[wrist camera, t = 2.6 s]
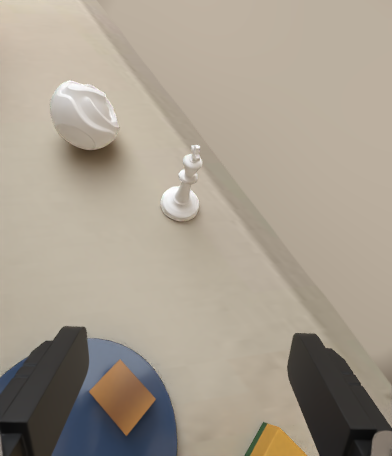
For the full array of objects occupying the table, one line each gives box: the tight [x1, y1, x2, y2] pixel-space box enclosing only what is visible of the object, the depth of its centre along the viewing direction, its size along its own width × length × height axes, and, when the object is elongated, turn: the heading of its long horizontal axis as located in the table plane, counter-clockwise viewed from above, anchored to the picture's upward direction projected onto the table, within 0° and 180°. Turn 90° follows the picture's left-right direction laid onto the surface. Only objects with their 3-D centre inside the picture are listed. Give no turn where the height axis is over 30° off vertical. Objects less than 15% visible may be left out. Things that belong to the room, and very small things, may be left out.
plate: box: [0, 338, 177, 456], centre depth 20 cm, size 16×16×1 cm
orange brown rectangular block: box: [89, 360, 156, 436], centre depth 21 cm, size 4×3×2 cm
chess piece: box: [160, 145, 202, 221], centre depth 30 cm, size 5×5×10 cm
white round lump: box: [50, 80, 120, 150], centre depth 32 cm, size 8×8×8 cm
